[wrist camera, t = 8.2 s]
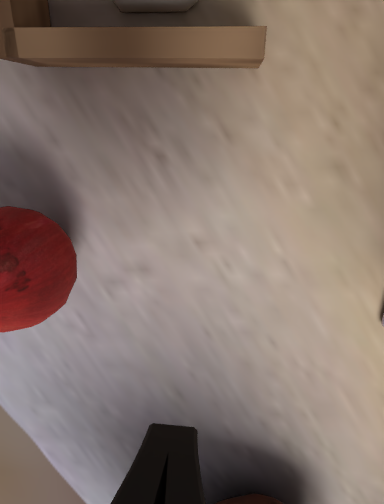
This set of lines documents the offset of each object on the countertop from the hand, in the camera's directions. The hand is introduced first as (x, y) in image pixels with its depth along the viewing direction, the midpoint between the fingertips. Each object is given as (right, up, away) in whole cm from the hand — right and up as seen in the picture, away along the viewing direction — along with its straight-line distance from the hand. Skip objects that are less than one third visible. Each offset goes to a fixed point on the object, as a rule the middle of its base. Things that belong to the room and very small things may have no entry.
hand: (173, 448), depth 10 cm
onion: (-8, +7, +10) cm, 14 cm away
